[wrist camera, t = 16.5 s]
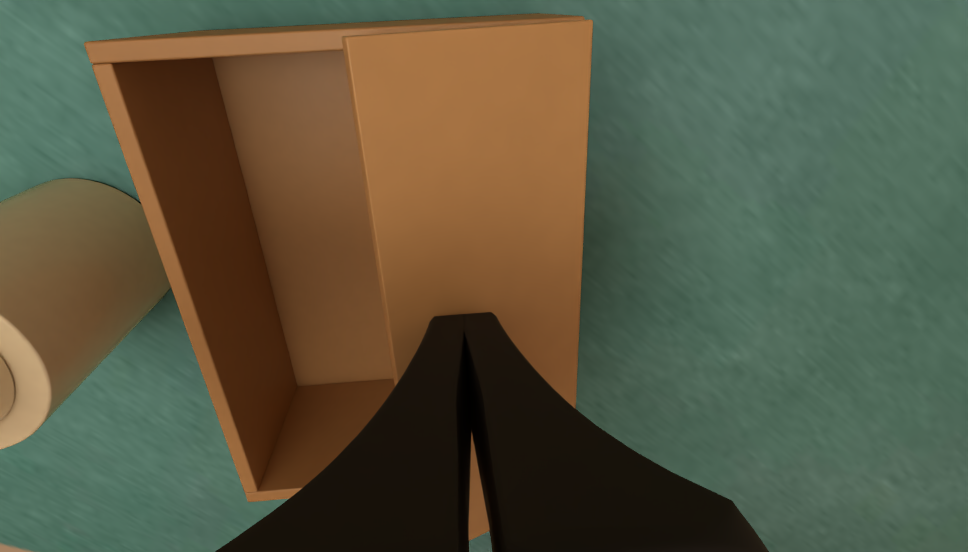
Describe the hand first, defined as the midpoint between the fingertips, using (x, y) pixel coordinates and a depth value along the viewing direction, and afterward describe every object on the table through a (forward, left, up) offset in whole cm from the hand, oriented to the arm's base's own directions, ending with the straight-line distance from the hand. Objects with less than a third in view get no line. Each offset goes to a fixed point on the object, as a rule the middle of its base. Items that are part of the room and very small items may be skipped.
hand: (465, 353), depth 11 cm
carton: (0, +2, -8) cm, 8 cm away
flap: (0, -1, -1) cm, 1 cm away
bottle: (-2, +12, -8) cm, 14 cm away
